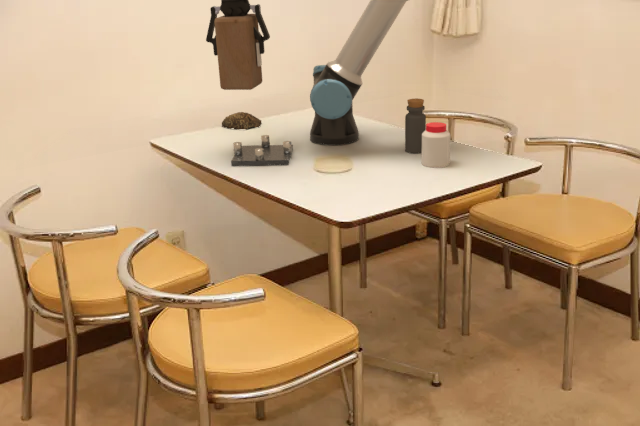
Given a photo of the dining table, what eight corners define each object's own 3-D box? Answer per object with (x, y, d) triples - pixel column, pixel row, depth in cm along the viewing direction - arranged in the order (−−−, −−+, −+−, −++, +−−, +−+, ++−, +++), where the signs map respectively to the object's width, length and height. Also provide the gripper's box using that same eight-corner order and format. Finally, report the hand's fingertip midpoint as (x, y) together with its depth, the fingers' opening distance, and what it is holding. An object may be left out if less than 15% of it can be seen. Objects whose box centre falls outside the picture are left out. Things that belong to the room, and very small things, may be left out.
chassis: (294, 149, 233) (293, 134, 232) (289, 165, 218) (288, 150, 216) (238, 150, 234) (237, 135, 233) (229, 166, 219) (228, 151, 217)
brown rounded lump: (217, 126, 264) (216, 112, 262) (246, 120, 272) (245, 105, 270) (240, 132, 255) (239, 118, 254) (269, 125, 263) (268, 111, 261)
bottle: (429, 150, 227) (430, 99, 222) (417, 154, 223) (417, 103, 218) (413, 147, 231) (413, 97, 226) (401, 151, 227) (401, 100, 222)
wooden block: (253, 90, 219) (247, 17, 212) (219, 90, 221) (212, 18, 214) (263, 83, 228) (258, 13, 221) (231, 83, 230) (225, 13, 223)
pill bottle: (432, 169, 210) (432, 129, 206) (415, 162, 216) (416, 123, 213) (455, 164, 213) (456, 125, 209) (438, 158, 220) (439, 119, 216)
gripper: (276, -18, 217) (282, 62, 225) (195, -14, 220) (203, 65, 227) (273, -15, 210) (278, 67, 218) (189, -12, 213) (197, 69, 220)
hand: (240, 66), depth 223 cm, fingers closed on wooden block, 10 cm apart
